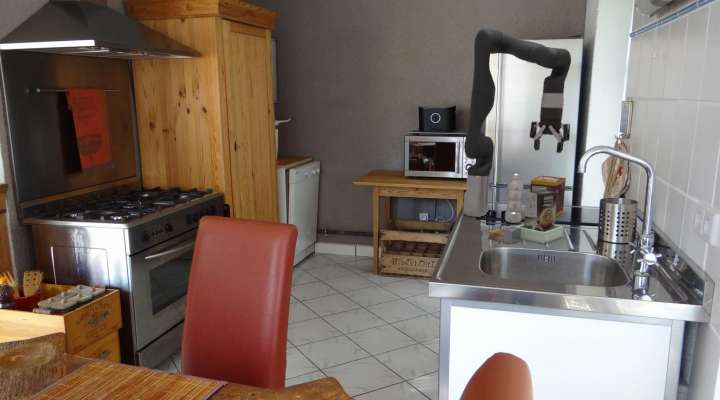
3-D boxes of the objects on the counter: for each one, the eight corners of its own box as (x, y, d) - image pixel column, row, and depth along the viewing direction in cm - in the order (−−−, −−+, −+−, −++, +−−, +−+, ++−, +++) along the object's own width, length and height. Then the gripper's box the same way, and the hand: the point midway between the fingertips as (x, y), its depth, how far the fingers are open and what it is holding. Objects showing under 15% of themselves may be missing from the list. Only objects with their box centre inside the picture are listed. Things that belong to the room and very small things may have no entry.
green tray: (513, 237, 191) (514, 226, 190) (533, 231, 200) (533, 220, 199) (544, 244, 182) (544, 232, 182) (562, 237, 192) (563, 226, 191)
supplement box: (563, 212, 232) (566, 177, 229) (552, 219, 220) (555, 181, 217) (539, 209, 238) (542, 175, 235) (528, 215, 226) (530, 179, 223)
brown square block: (488, 239, 189) (488, 231, 188) (497, 236, 193) (498, 228, 192) (503, 243, 185) (503, 234, 184) (512, 239, 189) (513, 231, 188)
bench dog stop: (503, 242, 185) (504, 229, 184) (512, 239, 189) (513, 226, 188) (511, 244, 182) (511, 231, 182) (520, 240, 186) (521, 228, 186)
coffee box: (536, 239, 186) (539, 194, 183) (522, 235, 192) (525, 191, 188) (554, 236, 191) (558, 191, 187) (540, 232, 196) (543, 189, 193)
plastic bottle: (503, 223, 211) (506, 173, 207) (505, 220, 217) (508, 171, 213) (520, 225, 208) (523, 174, 205) (522, 221, 215) (525, 172, 211)
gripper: (528, 105, 192) (524, 150, 196) (565, 107, 182) (561, 154, 186) (539, 105, 197) (535, 148, 201) (576, 106, 187) (571, 152, 191)
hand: (547, 151), depth 193 cm, fingers open, 8 cm apart
